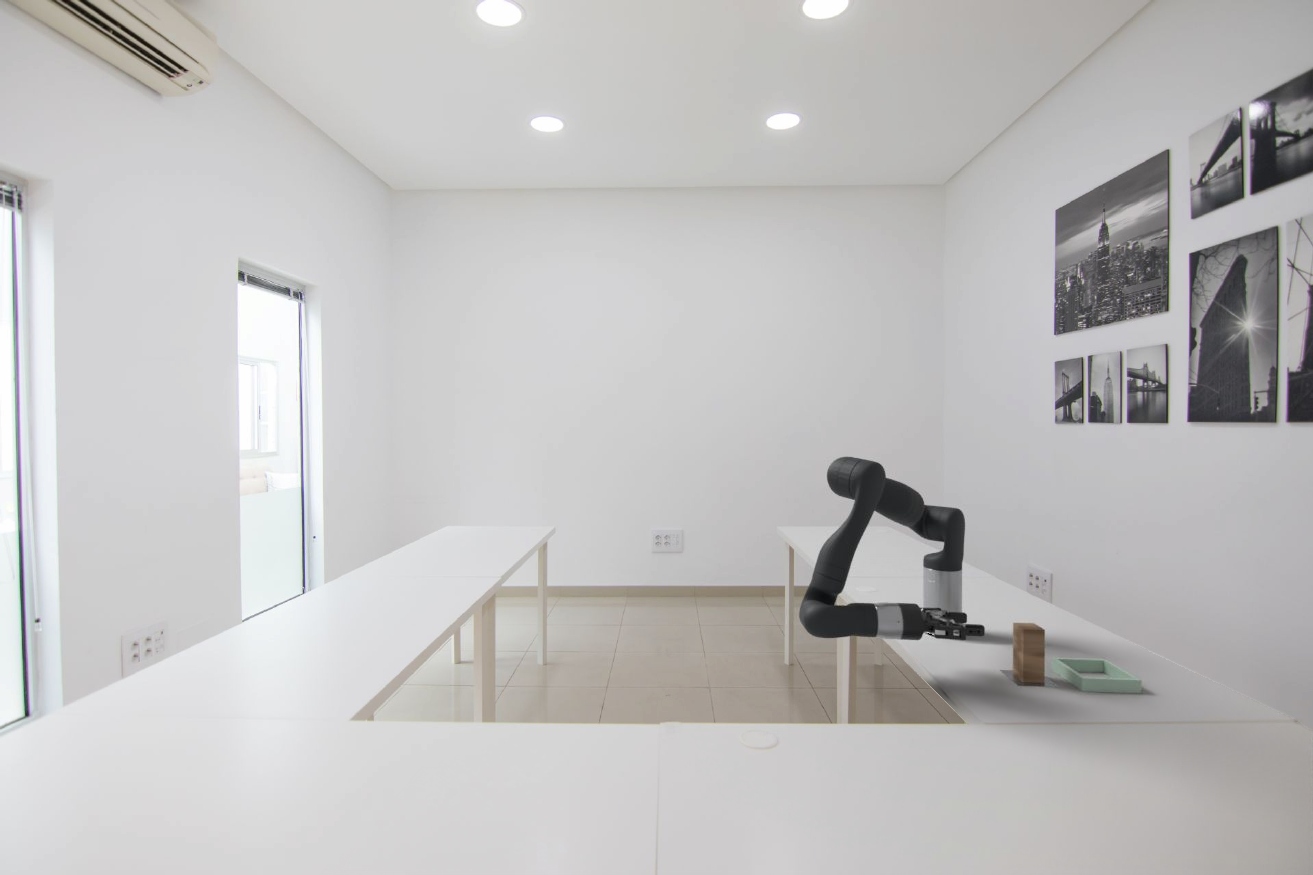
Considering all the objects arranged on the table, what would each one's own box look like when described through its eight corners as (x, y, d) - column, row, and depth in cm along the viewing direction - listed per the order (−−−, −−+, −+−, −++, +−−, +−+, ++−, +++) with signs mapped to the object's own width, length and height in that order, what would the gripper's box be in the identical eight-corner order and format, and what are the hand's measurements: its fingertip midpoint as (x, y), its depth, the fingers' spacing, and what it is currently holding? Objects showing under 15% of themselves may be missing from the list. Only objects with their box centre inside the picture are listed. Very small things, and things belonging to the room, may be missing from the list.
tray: (1051, 673, 130) (1051, 657, 130) (1104, 675, 129) (1105, 659, 129) (1082, 695, 119) (1082, 678, 119) (1141, 697, 118) (1141, 680, 118)
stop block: (1012, 673, 128) (1013, 622, 128) (1033, 674, 127) (1033, 623, 127) (1023, 681, 124) (1023, 629, 123) (1044, 682, 123) (1044, 629, 123)
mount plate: (999, 674, 130) (999, 669, 130) (1038, 675, 129) (1038, 670, 129) (1018, 690, 122) (1018, 685, 122) (1059, 691, 121) (1059, 686, 121)
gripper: (906, 613, 120) (990, 616, 119) (886, 594, 135) (961, 597, 133) (906, 650, 120) (990, 653, 119) (885, 627, 135) (960, 630, 133)
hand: (974, 623), depth 126 cm, fingers open, 8 cm apart
